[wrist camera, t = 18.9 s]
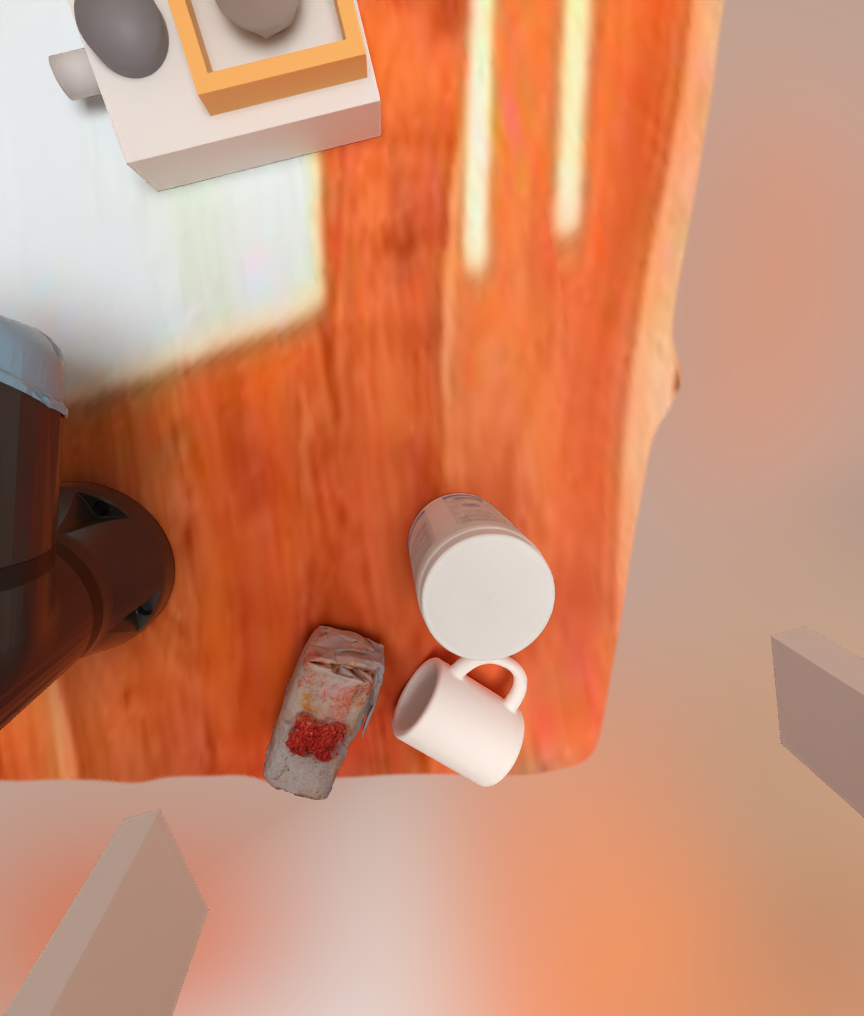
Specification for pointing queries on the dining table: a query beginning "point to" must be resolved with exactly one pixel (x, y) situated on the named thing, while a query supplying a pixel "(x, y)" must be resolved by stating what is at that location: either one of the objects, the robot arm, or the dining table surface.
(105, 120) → the dining table surface
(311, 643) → the food item
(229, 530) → the dining table surface
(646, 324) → the dining table surface
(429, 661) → the mug
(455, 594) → the supplement tub
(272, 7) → the salt shaker
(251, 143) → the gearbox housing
